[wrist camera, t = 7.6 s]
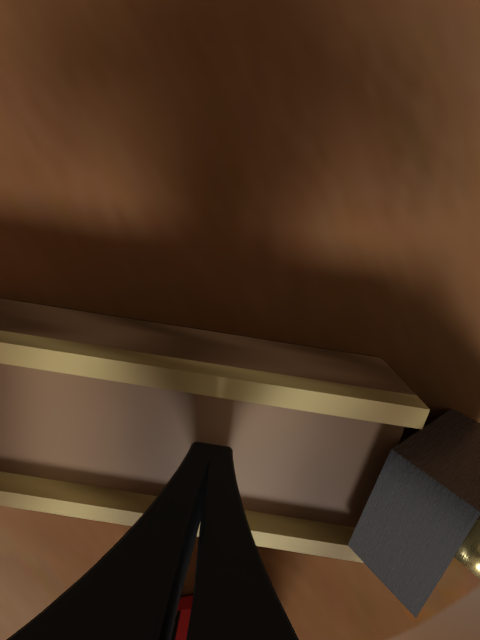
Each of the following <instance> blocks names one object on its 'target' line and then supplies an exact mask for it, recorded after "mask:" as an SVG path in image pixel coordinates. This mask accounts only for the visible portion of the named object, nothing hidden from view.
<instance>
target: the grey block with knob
mask: <svg viewBox="0 0 480 640" xmlns="http://www.w3.org/2000/svg"><path fill="white" fill-rule="evenodd" d="M348 546H349V547H350V548H351V549H352V550H353V551H354V553H355V554H356V555H357V556H358V557H359V558H360V559H361V560H362V561H363V562H364V563H365V564H366V565H367V566H368V567H369V569H370V570H371V571H372V572H373V573H374V574H375V575H376V576H377V577H378V578H379V579H380V580H381V581H382V582H383V583H384V584H385V586H386V587H387V588H388V589H389V590H390V591H391V592H392V593H393V594H394V595H395V596H396V597H397V598H398V599H399V600H400V602H401V603H402V604H403V605H404V606H405V607H406V608H407V609H408V610H409V611H410V612H411V613H412V614H413V615H414V616H415V617H417V615H418V614H419V612H420V610H421V609H422V607H423V606H424V604H425V602H426V601H427V599H428V597H429V596H430V594H431V593H432V591H433V589H434V588H435V586H436V585H437V583H438V581H439V580H440V578H441V577H442V575H443V573H444V572H445V570H446V569H447V567H448V565H449V564H450V562H451V560H452V559H453V557H455V558H456V559H457V560H458V561H459V562H461V563H462V564H463V565H464V566H465V567H466V568H468V569H469V570H470V571H471V572H472V573H474V574H475V575H476V576H477V577H478V578H479V579H480V423H478V422H476V421H475V420H473V419H471V418H469V417H467V416H465V415H463V414H461V413H459V412H457V411H455V410H454V409H450V410H449V411H447V412H446V413H444V414H443V415H441V416H440V417H438V418H437V419H435V420H434V421H432V422H431V423H429V424H428V425H426V426H425V427H423V429H420V430H419V431H417V432H416V433H415V434H413V435H412V436H410V437H409V438H407V439H406V440H404V441H403V442H401V443H400V444H398V445H397V446H395V447H394V448H392V449H391V451H390V453H389V455H388V457H387V460H386V462H385V464H384V466H383V468H382V471H381V473H380V475H379V477H378V479H377V482H376V484H375V486H374V488H373V490H372V493H371V495H370V497H369V499H368V501H367V504H366V506H365V508H364V510H363V512H362V515H361V517H360V519H359V521H358V523H357V526H356V528H355V530H354V532H353V534H352V537H351V539H350V541H349V543H348Z"/></svg>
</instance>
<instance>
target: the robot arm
mask: <svg viewBox="0 0 480 640" xmlns="http://www.w3.org/2000/svg"><path fill="white" fill-rule="evenodd" d="M199 525H200V531H199V541H198V552H197V562H196V573H195V583H194V594H193V601H192V607H191V613H190V619H189V625H188V631H187V637H186V640H299V639H298V637H297V635H296V633H295V631H294V629H293V627H292V625H291V623H290V621H289V619H288V617H287V615H286V613H285V611H284V609H283V607H282V605H281V602H280V600H279V598H278V596H277V594H276V592H275V590H274V588H273V586H272V583H271V581H270V579H269V576H268V574H267V572H266V569H265V567H264V564H263V562H262V559H261V557H260V554H259V552H258V549H257V547H256V544H255V541H254V538H253V536H252V533H251V530H250V527H249V524H248V521H247V518H246V514H245V511H244V508H243V504H242V500H241V496H240V493H239V489H238V484H237V480H236V475H235V469H234V462H233V450H232V449H231V447H228V446H221V445H215V444H209V443H202V442H194V443H192V445H191V447H190V449H189V451H188V453H187V454H186V456H185V458H184V459H183V461H182V463H181V464H180V466H179V467H178V469H177V470H176V472H175V473H174V475H173V476H172V477H171V479H170V480H169V482H168V483H167V484H166V486H165V487H164V489H163V490H162V491H161V492H160V494H159V495H158V496H157V497H156V499H155V500H154V501H153V502H152V504H151V505H150V506H149V507H148V509H147V510H146V511H145V512H144V513H143V515H142V516H141V517H140V518H139V519H138V520H137V521H136V523H135V524H134V525H133V526H132V527H131V528H130V529H129V530H128V531H127V532H126V534H125V535H124V536H123V537H122V538H121V539H120V540H119V541H118V542H117V543H116V544H115V545H114V546H113V547H112V548H111V549H110V550H109V551H108V552H107V553H106V554H105V555H104V556H103V557H102V558H101V559H100V560H99V561H98V562H97V563H96V564H95V565H94V566H93V567H92V568H91V569H90V570H89V571H87V572H86V573H85V574H84V575H83V576H82V577H81V578H80V579H79V580H78V581H76V582H75V583H74V584H73V585H72V586H71V587H70V588H68V589H67V590H66V591H65V592H64V593H63V594H62V595H60V596H59V597H58V598H57V599H56V600H55V601H54V602H52V603H51V604H50V605H49V606H48V607H47V608H46V609H44V610H43V611H42V612H41V613H40V614H38V615H37V616H36V617H35V618H34V619H32V620H31V621H30V622H29V623H27V624H26V625H25V626H24V627H22V628H21V629H20V630H18V631H17V632H16V633H15V634H13V635H12V636H11V637H10V638H8V639H7V640H171V637H172V632H173V626H174V621H175V617H176V613H177V608H178V604H179V600H180V596H181V593H182V589H183V585H184V581H185V578H186V574H187V570H188V566H189V563H190V559H191V555H192V551H193V548H194V544H195V540H196V536H197V532H198V529H199Z"/></svg>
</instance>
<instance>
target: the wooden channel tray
mask: <svg viewBox="0 0 480 640" xmlns="http://www.w3.org/2000/svg"><path fill="white" fill-rule="evenodd" d="M429 411H430V409H429V408H428V407H427V406H426V405H425V404H424V403H423V401H422V400H421V399H420V398H419V397H418V396H417V395H416V394H415V393H414V392H413V391H412V390H411V389H410V388H409V387H408V386H407V385H406V383H405V382H404V381H403V380H402V379H401V378H400V377H399V376H398V375H397V374H396V373H395V372H394V371H393V370H392V369H391V368H390V367H389V365H388V364H387V363H386V362H385V361H384V360H383V359H382V358H379V357H373V356H366V355H360V354H354V353H347V352H341V351H334V350H328V349H322V348H315V347H309V346H302V345H296V344H290V343H283V342H277V341H270V340H264V339H257V338H251V337H245V336H238V335H232V334H225V333H219V332H213V331H206V330H200V329H193V328H187V327H181V326H174V325H168V324H161V323H155V322H149V321H142V320H136V319H129V318H123V317H117V316H110V315H104V314H97V313H91V312H85V311H78V310H72V309H65V308H59V307H53V306H46V305H40V304H33V303H27V302H21V301H14V300H8V299H1V298H0V505H1V506H8V507H14V508H20V509H27V510H33V511H39V512H46V513H52V514H58V515H65V516H71V517H77V518H84V519H90V520H96V521H103V522H109V523H115V524H122V525H128V526H133V525H134V524H135V523H136V521H137V520H138V519H139V518H140V517H141V516H142V515H143V513H144V512H145V511H146V510H147V509H148V507H149V506H150V505H151V504H152V502H153V501H154V500H155V499H156V497H157V496H158V495H159V494H160V492H161V491H162V490H163V489H164V487H165V486H166V484H167V483H168V482H169V480H170V479H171V477H172V476H173V475H174V473H175V472H176V470H177V469H178V467H179V466H180V464H181V463H182V461H183V459H184V458H185V456H186V454H187V453H188V451H189V449H190V447H191V445H192V443H194V442H202V443H209V444H215V445H221V446H228V447H231V449H232V450H233V462H234V469H235V475H236V480H237V484H238V489H239V493H240V496H241V500H242V504H243V508H244V511H245V514H246V518H247V521H248V524H249V527H250V530H251V533H252V536H253V538H254V541H255V544H256V546H261V547H267V548H273V549H280V550H286V551H292V552H299V553H305V554H311V555H318V556H324V557H330V558H336V559H343V560H349V561H355V562H362V563H364V562H363V561H362V560H361V559H360V558H359V557H358V556H357V555H356V554H355V553H354V551H353V550H352V549H351V548H350V547H349V546H348V543H349V541H350V539H351V537H352V534H353V532H354V530H355V528H356V526H357V523H358V521H359V519H360V517H361V515H362V512H363V510H364V508H365V506H366V504H367V501H368V499H369V497H370V495H371V493H372V490H373V488H374V486H375V484H376V482H377V479H378V477H379V475H380V473H381V471H382V468H383V466H384V464H385V462H386V460H387V457H388V455H389V453H390V451H391V449H392V448H394V447H395V446H397V445H398V444H399V441H400V439H401V436H402V433H403V431H404V428H405V427H410V428H416V429H423V426H424V424H425V421H426V419H427V416H428V414H429ZM199 531H200V525H199V529H198V532H197V537H199Z"/></svg>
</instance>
